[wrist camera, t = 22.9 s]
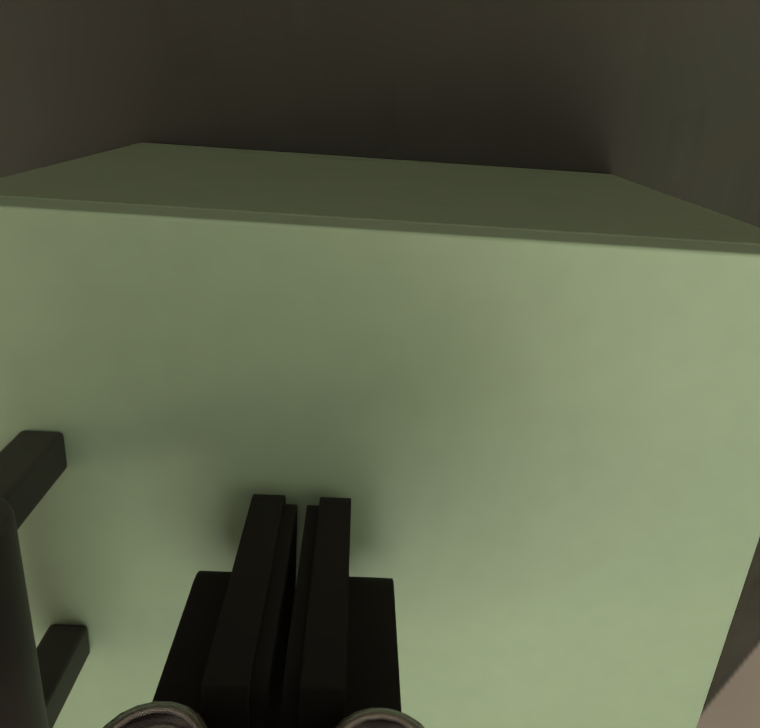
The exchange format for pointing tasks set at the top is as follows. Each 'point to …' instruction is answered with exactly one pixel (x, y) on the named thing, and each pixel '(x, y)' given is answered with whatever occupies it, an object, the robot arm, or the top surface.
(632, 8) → the top surface
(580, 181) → the green hinged lid box
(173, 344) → the green box lid
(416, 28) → the top surface
